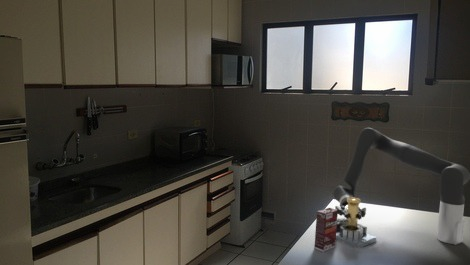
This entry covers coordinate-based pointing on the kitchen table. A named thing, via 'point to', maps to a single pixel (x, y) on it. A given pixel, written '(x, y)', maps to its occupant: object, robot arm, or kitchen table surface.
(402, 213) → the kitchen table surface
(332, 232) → the supplement box
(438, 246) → the kitchen table surface
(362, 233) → the jig
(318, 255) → the kitchen table surface
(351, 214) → the bushing
